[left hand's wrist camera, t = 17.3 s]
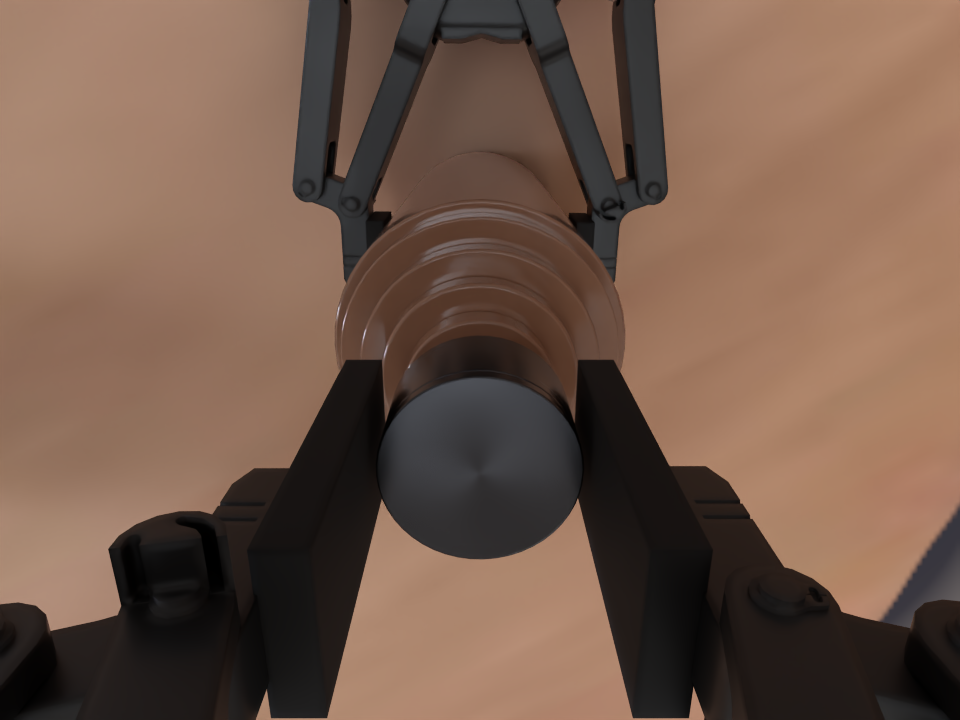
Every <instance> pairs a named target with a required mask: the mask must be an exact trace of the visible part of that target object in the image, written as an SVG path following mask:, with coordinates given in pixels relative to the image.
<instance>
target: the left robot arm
mask: <svg viewBox="0 0 960 720" xmlns="http://www.w3.org/2000/svg"><path fill="white" fill-rule="evenodd" d="M384 426H385V405H384V387H383V368H382V360H346V361H345V363H344V365H343V367H342V369H341V371H340V373H339V375H338V376H337V378H336V380H335V382H334V384H333V386H332V388H331V390H330V392H329V394H328V396H327V397H326V399H325V401H324V403H323V405H322V407H321V409H320V411H319V413H318V415H317V417H316V418H315V420H314V422H313V424H312V426H311V428H310V430H309V432H308V434H307V436H306V438H305V440H304V441H303V443H302V445H301V447H300V449H299V451H298V453H297V455H296V457H295V459H294V461H293V462H292V464H291V466H290V468H254V469H253V470H252V471H250V472H249V473H247V474H246V475H244V476H243V477H242V478H240V479H239V480H237V481H236V482H235V483H233V484H232V485H231V487H230V488H229V490H228V491H227V493H226V494H225V496H224V498H223V499H222V501H221V502H220V506H218V507H217V508H216V510H215V511H214V513H213V514H208V513H204V512H201V511H179V512H174V513H169V514H164V515H159V516H156V517H153V518H151V519H148V520H146V521H143V522H141V523H138V524H136V525H135V526H133V527H132V528H130V529H129V530H127V531H126V532H124V533H123V534H121V535H120V536H118V538H117V539H116V540H115V541H114V543H113V544H112V545H111V546H110V548H109V549H108V550H109V554H110V559H111V563H112V567H113V572H114V576H115V580H116V585H117V589H118V593H119V598H120V602H121V608H120V611H119V613H118V615H117V616H113V617H110V618H106V619H103V620H99V621H95V622H90V623H85V624H81V625H76V626H72V627H67V628H62V629H58V630H53V631H50V627H49V624H48V620H47V617H46V614H45V613H44V612H42V611H41V610H40V609H39V608H38V607H37V606H34V605H29V604H23V603H9V604H0V720H256V717H257V714H258V711H259V709H260V706H261V703H262V700H263V698H264V695H265V692H266V690H267V693H268V700H269V707H270V714H271V718H327V716H328V712H329V708H330V704H331V700H332V696H333V692H334V688H335V684H336V680H337V676H338V672H339V668H340V664H341V660H342V656H343V652H344V648H345V644H346V640H347V636H348V632H349V628H350V624H351V620H352V616H353V612H354V608H355V604H356V600H357V596H358V592H359V588H360V584H361V580H362V576H363V572H364V568H365V564H366V560H367V555H368V551H369V547H370V543H371V539H372V535H373V531H374V527H375V523H376V519H377V515H378V511H379V507H380V503H381V499H382V497H381V494H380V491H379V488H378V483H377V478H376V458H377V451H378V447H379V443H380V440H381V436H382V433H383V430H384ZM575 427H576V430H577V433H578V437H579V440H580V443H581V448H582V452H583V458H584V475H583V483H582V487H581V491H580V494H579V496H578V499H579V503H580V507H581V511H582V515H583V519H584V523H585V527H586V531H587V535H588V539H589V543H590V547H591V551H592V555H593V559H594V564H595V568H596V572H597V576H598V580H599V584H600V588H601V592H602V596H603V600H604V604H605V608H606V612H607V616H608V620H609V624H610V628H611V632H612V636H613V640H614V644H615V648H616V652H617V656H618V660H619V664H620V668H621V672H622V676H623V680H624V684H625V688H626V692H627V696H628V700H629V704H630V708H631V712H632V716H633V718H689V714H690V707H691V700H692V693H693V686H694V689H695V692H696V694H697V697H698V700H699V703H700V705H701V708H702V711H703V713H704V716H705V718H704V720H960V601H951V600H938V601H933V602H927V603H924V604H923V605H922V606H921V607H920V608H918V609H917V610H916V611H915V613H914V617H913V621H912V624H911V627H910V628H906V627H902V626H897V625H893V624H888V623H883V622H879V621H874V620H869V619H865V618H861V617H857V616H854V615H850V614H847V613H843V612H841V610H840V607H839V605H838V604H837V602H836V601H835V599H834V598H833V596H832V595H831V593H830V592H829V591H828V590H827V589H825V588H824V587H823V586H822V585H820V584H819V583H818V582H816V581H815V580H814V579H812V578H810V577H808V576H806V575H804V574H801V573H799V572H797V571H795V570H793V569H789V568H785V567H784V566H783V565H782V563H781V562H780V560H779V559H778V557H777V556H776V554H775V553H774V551H773V550H772V548H771V547H770V545H769V544H768V542H767V540H766V539H765V537H764V536H763V534H762V533H761V531H760V530H759V528H758V527H757V525H756V524H755V522H754V521H753V519H750V515H749V513H748V512H747V510H746V508H745V507H744V505H743V504H740V499H739V498H738V496H737V495H736V493H735V492H734V490H733V489H732V487H731V486H730V484H729V483H728V482H727V481H726V480H725V479H723V478H722V477H720V476H719V475H717V474H716V473H715V472H713V471H712V470H710V469H709V468H708V467H706V466H669V464H668V462H667V461H666V459H665V457H664V455H663V453H662V451H661V449H660V447H659V445H658V443H657V441H656V440H655V438H654V436H653V434H652V432H651V430H650V428H649V426H648V424H647V422H646V420H645V418H644V417H643V415H642V413H641V411H640V409H639V407H638V405H637V403H636V401H635V399H634V397H633V396H632V394H631V392H630V390H629V388H628V386H627V384H626V382H625V380H624V378H623V376H622V375H621V373H620V371H619V369H618V367H617V365H616V363H615V361H614V360H578V368H577V387H576V405H575Z"/></svg>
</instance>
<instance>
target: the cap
mask: <svg viewBox="0 0 960 720" xmlns="http://www.w3.org/2000/svg"><path fill="white" fill-rule="evenodd" d="M583 475H584V458H583V452H582V448H581V443H580V440H579V437H578V433H577V430H576V427H575V423H574V420H573V416H572V413H571V410H570V406H569V403H568V399H567V396H566V393H565V391H564V388H563V385H562V384H561V382H560V380H559V378H558V376H557V375H556V373H555V372H554V371H553V369H552V368H551V367H550V366H549V365H548V364H547V363H546V362H545V361H544V360H543V359H542V358H541V357H540V356H539V355H537V354H536V353H535V352H533V351H532V350H530V349H528V348H527V347H525V346H523V345H521V344H518V343H516V342H514V341H511V340H507V339H504V338H500V337H493V336H477V335H476V336H466V337H461V338H456V339H452V340H449V341H447V342H444V343H441V344H439V345H437V346H435V347H433V348H431V349H430V350H428V351H427V352H425V353H424V354H422V355H421V356H420V357H419V358H418V359H417V360H415V361H414V362H413V363H412V364H411V366H410V367H409V368H408V369H407V370H406V372H405V373H404V375H403V376H402V378H401V379H400V381H399V383H398V385H397V388H396V390H395V393H394V396H393V399H392V403H391V406H390V409H389V413H388V416H387V420H386V423H385V426H384V430H383V433H382V436H381V440H380V443H379V447H378V451H377V458H376V478H377V483H378V488H379V491H380V494H381V497H382V500H383V502H384V504H385V506H386V508H387V510H388V511H389V513H390V514H391V516H392V517H393V518H394V520H395V521H396V522H397V523H398V524H399V526H400V527H401V528H402V529H403V530H404V531H406V532H407V533H408V534H409V535H410V536H411V537H413V538H414V539H416V540H417V541H419V542H420V543H422V544H423V545H425V546H427V547H429V548H431V549H433V550H436V551H438V552H441V553H444V554H447V555H451V556H455V557H460V558H467V559H492V558H500V557H505V556H509V555H513V554H516V553H519V552H522V551H524V550H526V549H529V548H531V547H533V546H535V545H536V544H538V543H540V542H541V541H543V540H544V539H546V538H547V537H548V536H550V535H551V534H552V533H553V532H554V531H555V530H556V529H557V528H558V527H559V526H560V525H561V524H562V523H563V522H564V521H565V519H566V518H567V517H568V516H569V514H570V512H571V511H572V509H573V507H574V505H575V504H576V501H577V499H578V496H579V494H580V491H581V487H582V483H583Z"/></svg>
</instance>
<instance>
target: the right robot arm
mask: <svg viewBox="0 0 960 720" xmlns="http://www.w3.org/2000/svg"><path fill="white" fill-rule="evenodd" d="M404 1H405V2H406V4H407V5H408V8H407V10H406V13H405V16H404V18H403V21H402V24H401V26H400V29H399V32H398V35H397V38H396V41H395V45H394V50H393V53H392V56H391V58H390V61H389V64H388V66H387V69H386V72H385V74H384V77H383V80H382V82H381V85H380V88H379V90H378V93H377V96H376V98H375V101H374V104H373V106H372V109H371V112H370V114H369V117H368V120H367V122H366V125H365V128H364V130H363V133H362V136H361V138H360V141H359V144H358V146H357V149H356V152H355V154H354V157H353V160H352V163H351V165H350V168H349V171H348V173H347V176H346V178H343V177H340V176H338V175H335V166H336V157H337V148H338V139H339V130H340V121H341V112H342V103H343V94H344V85H345V76H346V67H347V58H348V49H349V40H350V31H351V1H350V0H309V10H308V21H307V32H306V43H305V54H304V65H303V76H302V87H301V98H300V109H299V120H298V131H297V142H296V153H295V164H294V175H293V191H294V193H295V195H296V197H298V198H299V199H300V200H302V201H304V202H313V203H316V204H319V205H321V206H324V207H327V208H329V209H331V210H332V211H334V212H335V213H336V215H337V216H338V217H339V220H340V223H341V234H342V250H343V265H344V279H345V281H346V283H347V281H348V278H349V276H350V274H351V272H352V271H353V269H354V268H355V266H356V264H357V263H358V261H359V260H360V258H361V257H362V256H363V254H364V253H365V252H366V250H367V249H368V248H369V246H370V245H371V244H372V243H373V241H374V240H375V239H376V237H377V236H378V235H379V234H380V232H381V231H382V230H383V228H384V227H385V226H386V225H387V223H388V222H389V221H390V219H391V212H378V211H375V212H374V213H373V204H374V203H375V201H376V200H375V198H376V195H377V193H378V190H379V188H380V185H381V183H382V180H383V177H384V175H385V172H386V170H387V167H388V165H389V162H390V160H391V157H392V155H393V152H394V150H395V147H396V144H397V142H398V139H399V137H400V134H401V132H402V129H403V127H404V124H405V122H406V119H407V117H408V114H409V111H410V109H411V106H412V104H413V101H414V99H415V96H416V94H417V91H418V89H419V86H420V83H421V81H422V78H423V76H424V73H425V71H426V68H427V66H428V64H429V62H430V60H431V58H432V56H433V53H434V51H435V48H436V46H437V43H438V41H439V40H442V41H443V42H444V43H465V42H469V41H472V40H476V39H479V38H484V39H487V40H491V41H494V42H497V43H500V44H519V43H520V42H521V41H525V43H526V46H527V49H528V51H529V54H530V56H531V59H532V61H533V63H534V65H535V67H536V70H537V72H538V75H539V78H540V80H541V83H542V86H543V88H544V91H545V94H546V96H547V99H548V102H549V104H550V107H551V110H552V112H553V115H554V118H555V120H556V123H557V126H558V128H559V131H560V134H561V136H562V139H563V142H564V144H565V147H566V150H567V152H568V155H569V157H570V160H571V163H572V165H573V168H574V171H575V173H576V176H577V179H578V181H579V184H580V187H581V189H582V192H583V195H584V197H585V200H586V203H587V214H586V213H569V220H570V221H571V222H572V224H573V225H574V226H575V227H576V229H577V230H578V231H579V233H580V234H581V235H582V237H583V238H584V239H585V240H586V242H587V243H588V244H589V246H590V247H591V248H592V249H593V251H594V252H595V253H596V255H597V256H598V257H599V259H600V260H601V261H602V263H603V264H604V266H605V268H606V270H607V271H608V273H609V275H610V276H611V278H612V281H613V283H614V282H615V274H616V261H617V259H616V258H617V248H618V236H619V226H620V222H621V220H622V218H623V217H624V216H625V215H626V214H627V213H628V212H630V211H632V210H634V209H637V208H640V207H643V206H646V205H656V204H658V203H660V202H661V201H663V200H664V199H665V197H666V195H667V192H668V181H667V168H666V155H665V141H664V128H663V114H662V101H661V87H660V74H659V61H658V47H657V34H656V20H655V7H654V3H655V0H609V1H613V8H612V32H613V43H614V53H615V64H616V74H617V85H618V95H619V106H620V116H621V127H622V137H623V148H624V159H625V169H626V177H624V178H621V179H618V180H615V177H614V175H613V172H612V169H611V166H610V163H609V161H608V158H607V155H606V152H605V149H604V147H603V144H602V141H601V138H600V135H599V132H598V130H597V127H596V124H595V121H594V118H593V116H592V113H591V110H590V107H589V104H588V102H587V99H586V96H585V93H584V90H583V88H582V85H581V82H580V79H579V76H578V74H577V71H576V68H575V65H574V62H573V60H572V57H571V54H570V50H569V44H568V41H567V37H566V34H565V32H564V29H563V26H562V23H561V20H560V17H559V15H558V12H557V9H556V6H557V5H558V3H559V2H560V0H404Z"/></svg>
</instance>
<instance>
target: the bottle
mask: <svg viewBox="0 0 960 720" xmlns="http://www.w3.org/2000/svg"><path fill="white" fill-rule="evenodd" d="M476 335H477V336H493V337H500V338H504V339H507V340H511V341H514V342H516V343H518V344H521V345H523V346H525V347H527V348H528V349H530V350H532V351H533V352H535V353H536V354H537V355H539V356H540V357H541V358H542V359H543V360H544V361H545V362H546V363H547V364H548V365H549V366H550V367H551V368H552V369H553V371H554V372H555V373H556V375H557V376H558V378H559V380H560V382H561V384H562V385H563V388H564V391H565V393H566V396H567V399H568V403H569V406H570V410H571V413H572V416H573V420H574V423H575V405H576V387H577V368H578V360H614V361H615V363H616V365H617V367H618V369H619V371H620V370H621V367H622V362H623V356H624V350H625V325H624V316H623V310H622V307H621V303H620V299H619V295H618V293H617V290H616V288H615V285H614V283H613V281H612V278H611V276H610V275H609V273H608V271H607V270H606V268H605V266H604V264H603V263H602V261H601V260H600V259H599V257H598V256H597V255H596V253H595V252H594V251H593V249H592V248H591V247H590V246H589V244H588V243H587V242H586V240H585V239H584V238H583V237H582V235H581V234H580V233H579V231H578V230H577V229H576V227H575V226H574V225H573V224H572V222H571V221H570V220H569V218H568V217H567V216H566V215H565V213H564V212H563V211H562V209H561V208H560V207H559V205H558V204H557V203H556V202H555V200H554V199H553V198H552V196H551V195H550V194H549V193H548V191H547V190H546V189H545V187H544V186H543V185H542V184H541V182H540V181H539V180H538V178H537V177H536V176H535V175H534V174H533V173H532V172H531V171H530V170H529V169H527V168H526V167H525V166H523V165H522V164H520V163H519V162H517V161H515V160H513V159H511V158H509V157H506V156H503V155H500V154H496V153H491V152H469V153H464V154H460V155H457V156H454V157H451V158H449V159H447V160H445V161H443V162H441V163H440V164H438V165H437V166H435V167H434V168H433V169H431V170H430V171H429V172H428V173H427V174H426V175H425V176H424V177H423V178H422V180H421V181H420V182H419V183H418V185H417V186H416V187H415V188H414V190H413V191H412V192H411V194H410V195H409V196H408V197H407V199H406V200H405V201H404V203H403V204H402V205H401V206H400V208H399V209H398V210H397V212H396V213H395V214H394V216H393V217H392V218H391V219H390V221H389V222H388V223H387V225H386V226H385V227H384V228H383V230H382V231H381V232H380V234H379V235H378V236H377V237H376V239H375V240H374V241H373V243H372V244H371V245H370V246H369V248H368V249H367V250H366V252H365V253H364V254H363V256H362V257H361V258H360V260H359V261H358V263H357V264H356V266H355V268H354V269H353V271H352V272H351V274H350V276H349V278H348V281H347V283H346V285H345V287H344V289H343V292H342V295H341V299H340V302H339V306H338V309H337V316H336V323H335V349H336V357H337V363H338V367H339V371H341V369H342V367H343V365H344V363H345V361H346V360H382V368H383V387H384V405H385V423H386V420H387V416H388V413H389V409H390V406H391V403H392V399H393V396H394V393H395V390H396V388H397V385H398V383H399V381H400V379H401V378H402V376H403V375H404V373H405V372H406V370H407V369H408V368H409V367H410V366H411V364H412V363H413V362H414V361H415V360H417V359H418V358H419V357H420V356H421V355H422V354H424V353H425V352H427V351H428V350H430V349H431V348H433V347H435V346H437V345H439V344H441V343H444V342H447V341H449V340H452V339H456V338H461V337H466V336H476Z"/></svg>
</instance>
